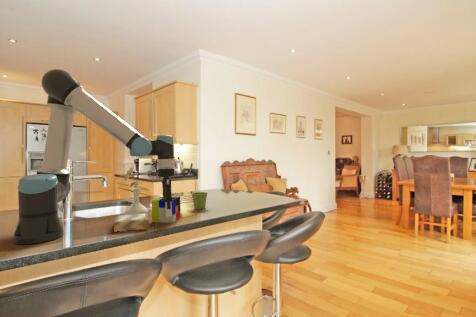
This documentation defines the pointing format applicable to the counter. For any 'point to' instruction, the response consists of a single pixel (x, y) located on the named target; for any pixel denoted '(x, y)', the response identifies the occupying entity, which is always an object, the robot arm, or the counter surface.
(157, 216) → the puzzle toy
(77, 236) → the counter surface
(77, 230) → the counter surface
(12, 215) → the counter surface
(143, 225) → the plinth
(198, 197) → the plant pot
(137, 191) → the flower in vase
